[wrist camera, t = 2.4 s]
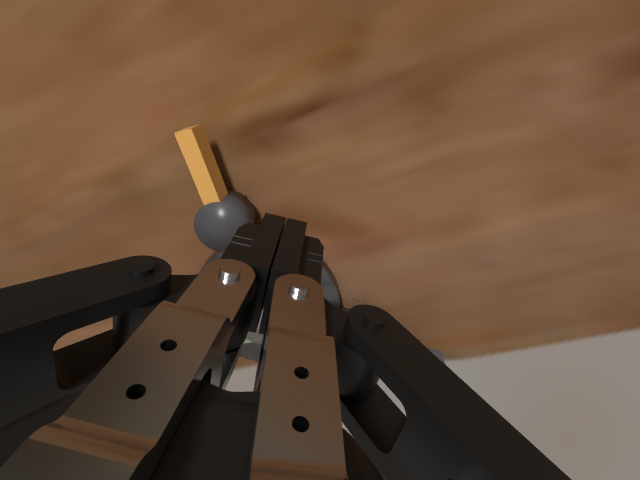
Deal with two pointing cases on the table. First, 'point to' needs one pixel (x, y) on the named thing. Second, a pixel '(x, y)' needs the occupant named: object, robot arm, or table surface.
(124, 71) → the table surface
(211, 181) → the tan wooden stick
